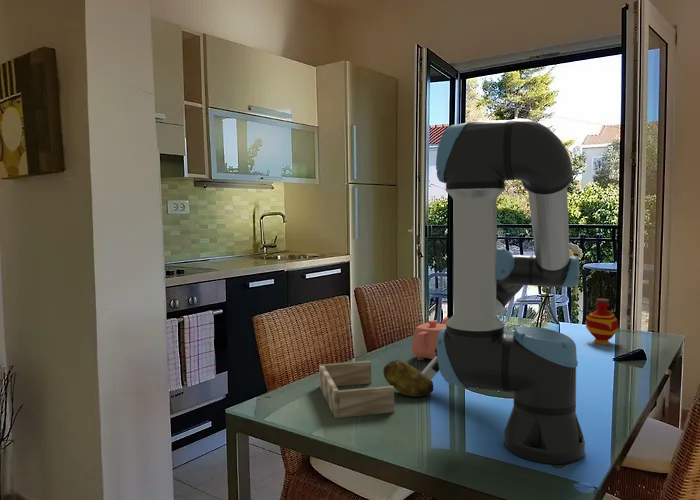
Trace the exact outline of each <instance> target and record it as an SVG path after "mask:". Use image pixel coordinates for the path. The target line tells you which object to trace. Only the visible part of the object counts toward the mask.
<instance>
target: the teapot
mask: <svg viewBox="0 0 700 500" xmlns="http://www.w3.org/2000/svg"><path fill="white" fill-rule="evenodd" d="M448 320H449V317H448V316H446V317H444V318H443V319H442V321H441V323H439V322H438V320H436V319H431V320H428V322H424V323H422V324H419V325H417V326H416V327H415V331H414V333H413V337H412V341H411V352H412V355H413V356H415V357H416V360H418V361H423V360H425V359H431V360H433V358H434V357H435V356H436V355H435V354H436V352H435V349H436V348H437V345H438V341H437V340H438V335H439V332H440V331H441V330H442V329H444V328H446V322H447V321H448Z"/></svg>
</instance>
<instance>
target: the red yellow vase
mask: <svg viewBox="0 0 700 500" xmlns="http://www.w3.org/2000/svg"><path fill="white" fill-rule="evenodd" d="M595 300H596V302H595V305H596V306H597V309H595V310H594V311H593V312H592V311H591V312H590V313H589V314H588V315H586V316H585V318H586V321H585V322H584V323H585V328H586V329H587V331H588V332H589V333H590V335H592V336H593V337H594V338H595V339H594V340H593V343H594V344H599V345H610V344H611V343H610V341H609V340H610V339H612V338H613V337H614V336H615V334H617V332H618V331H619V322H618V319H617V317H616V316H615V313H614V312H612V311H611V310H608V307H610V305H611V304H610V299H607V298H596V299H595Z"/></svg>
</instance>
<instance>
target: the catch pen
mask: <svg viewBox="0 0 700 500" xmlns="http://www.w3.org/2000/svg"><path fill="white" fill-rule="evenodd" d="M318 380H319V381H318V383H319V386H318V387H319V389H320V391H321V393H322V394H323V397H324V399H325V401H326V402H327V405H328V407H329V408H330V411H331V413H332V415H333V417H334V419H339V418H349V417H359V416H369V415H370V416H371V415H378V414H388V413H395V388H394V387H393V386H391V385H383V386H382V385H381V386H374V387H373V386H372V387H363V388H353V389H352V388H351V389H350V388H349V389H340V390H339V388H338V387H343V386H344V387H347V386H357V385H367V384H368V385H369V384H372V361H371V360H363V361H361V360H360V361H359V360H358V361H350V362H336V363H334V362H333V363H322V364H318Z"/></svg>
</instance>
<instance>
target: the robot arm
mask: <svg viewBox="0 0 700 500" xmlns="http://www.w3.org/2000/svg"><path fill="white" fill-rule="evenodd" d="M435 169H436V176H437V179H438V181H439V183H443V184H445V192H446V193H447V194H448V195H449V196H450V197H451V198H452V200H453V314H452V316H451V317H450V318H448V320H447V322H446V328H444V329H442V330H441V331H440V332H439V335H438V340H437V341H438V345H437V348H436V349H435V352H436V354H435V355H436V356H435V357H434V358H433V359H431V361H430V362H429V363H428V364H427V365H426V367H425V368H424V369H422V371H420V372H421V373H423V374H424V375H426V376H427V377H429V378H430V379H431V380H432V379H433V378H434V377H435V376H436V374H438V372H440V374H441V377H442V378H443V380H444V381H445V382H446V383H448V384H450V385H454V386H458V387H462V388H467V389H469V388H471V389H478V390H479V389H481V390H487V391H488V390H489V391H497V392H505V393H512V394H513V406H512V409H511V412H510V415H509V417H508V421H507V422H506V425H505V428H504V432H503V433H504V435H503V440H504V441H503V443H504V446H505V447H506V449H507V450H509V451H510V452H511V453H512V454H514V455H516V456H518V457H521V458H523V459H525V460H529V461H532V462H537V463H541V464H549V465H551V464H552V465H555V464H556V465H561V464H569V462H570V463H574V462H577V461H579V460H581V459H582V458H583V457H584V456H585V449H586V448H585V447H586V442H585V441H586V440H585V437H584V434H583V431H582V427H581V425H580V422H579V418H578V415H577V412H576V411H577V409H576V408H577V367H578V366H579V365H578V364H579V363H578V360H577V359H578V358H577V357H578V356H577V345H576V342H575V341H574V340H573V338H571V337H570V336H567V334H564V333H561V332H559V331H556V330H554V329H549V328H545V327H539V326H538V327H537V326H526V325H525V326H519V327H516V328H515V329H514V331H513V333H505V331H504V330H505V328H504V327H505V325H504V322H503V321H502V320H501V319H500V318H499V317H498V315H500V314H501V313H502V310H503V309H504V308H505V307H506V306H507V305H508V304H509V303H510V301H511V300H512V299H513V298H514V297H515V296H516V294H518V292H519V291H520V290H521V289H523V287H524V286H531V287H551V288H553V287H554V288H559V289H560V288H574V287H577V286H578V285H579V282H580V280H579V279H580V259H579V257H578V256H574V255H571V254H570V233H569V232H570V230H569V227H570V226H569V206H568V205H569V203H568V202H569V201H568V199H569V198H568V187H569V186H570V185H571V183H572V181H573V165H572V160H571V157H570V154H569V152H568V150H567V149H566V147H565V145H564V143H563V142H562V141H561V139H560V138H559V137H558V136H557V135H556V134H555V133H554V132H553V131H552V130H551V129H549V128H548V127H547V126H545V125H543V124H542V123H539V122H538V121H535V120H533V119H527V118H514V119H508V120H507V119H505V120H503V119H502V120H486V121H485V120H483V121H471V122H470V121H469V122H468V121H467V122H464V123H463V122H462V123H458V124H457V123H456V124H451V125H449V126H448V127H446V129H444V131H443V132H442V134H441V137H440V139H439V142H438V146H437V150H436V160H435ZM516 180H518V181H521V184H522V187H523V188H524V189H525V190H526V191H527V193H528V201H529V211H530V219H531V220H530V221H531V229H532V237H533V246H534V248H533V249H534V254H512V253H511V252H510V251H509V250H507V249H505V248H502V247H498V248H497V242H498V241H497V238H498V237H497V236H498V235H497V233H498V231H497V230H498V229H497V226H498V225H497V222H498V221H497V220H498V218H497V215H498V213H497V212H498V208H497V207H498V198H499V196H500V195H502V193H503V192H504V191H505V190H506V189H505V188H506V186H505V185H506V181H516ZM578 459H579V460H578ZM576 460H577V461H576ZM573 461H574V462H573Z"/></svg>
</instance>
